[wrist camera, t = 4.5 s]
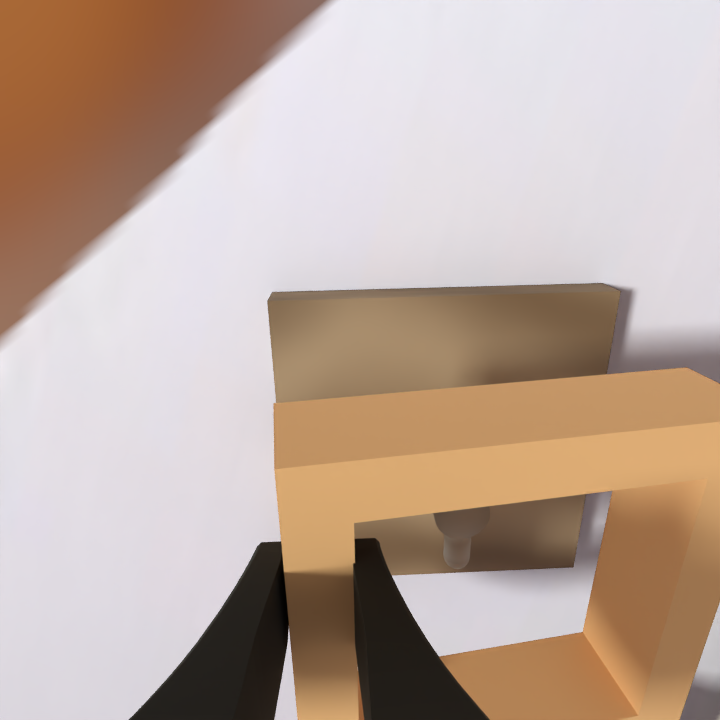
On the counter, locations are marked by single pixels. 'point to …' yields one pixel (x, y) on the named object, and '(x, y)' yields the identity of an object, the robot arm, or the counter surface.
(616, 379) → the wooden square frame
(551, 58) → the counter surface
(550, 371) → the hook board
